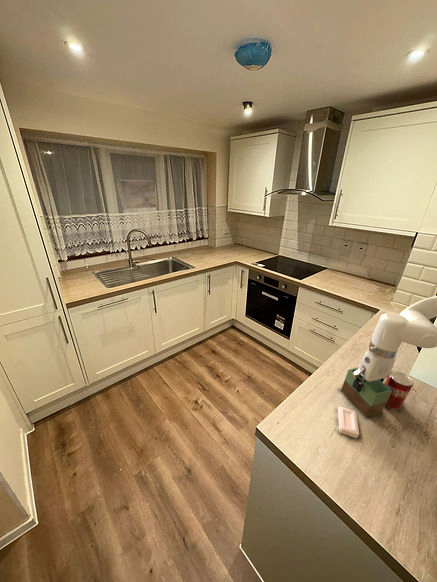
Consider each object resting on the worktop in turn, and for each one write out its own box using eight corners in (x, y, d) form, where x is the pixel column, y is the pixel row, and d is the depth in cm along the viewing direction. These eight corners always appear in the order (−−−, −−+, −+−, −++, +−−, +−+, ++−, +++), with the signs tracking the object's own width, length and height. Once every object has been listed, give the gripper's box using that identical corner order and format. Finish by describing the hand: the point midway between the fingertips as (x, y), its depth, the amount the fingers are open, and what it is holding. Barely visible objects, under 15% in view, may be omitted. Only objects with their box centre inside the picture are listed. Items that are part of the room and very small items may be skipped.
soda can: (377, 391, 92) (387, 368, 87) (399, 398, 89) (411, 374, 84) (379, 405, 86) (390, 381, 81) (402, 413, 83) (416, 389, 78)
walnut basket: (340, 390, 92) (344, 380, 89) (355, 386, 94) (359, 376, 91) (366, 417, 82) (371, 406, 79) (381, 412, 83) (386, 402, 81)
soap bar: (339, 433, 76) (341, 428, 75) (337, 410, 84) (339, 405, 83) (357, 439, 74) (359, 434, 73) (354, 415, 82) (356, 410, 81)
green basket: (344, 380, 89) (348, 369, 87) (359, 376, 91) (363, 365, 89) (371, 406, 79) (376, 395, 77) (386, 402, 81) (392, 390, 79)
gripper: (371, 361, 71) (355, 400, 79) (412, 351, 76) (393, 389, 84) (352, 345, 78) (339, 383, 85) (391, 337, 83) (375, 374, 90)
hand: (366, 386), depth 84 cm, fingers open, 8 cm apart
